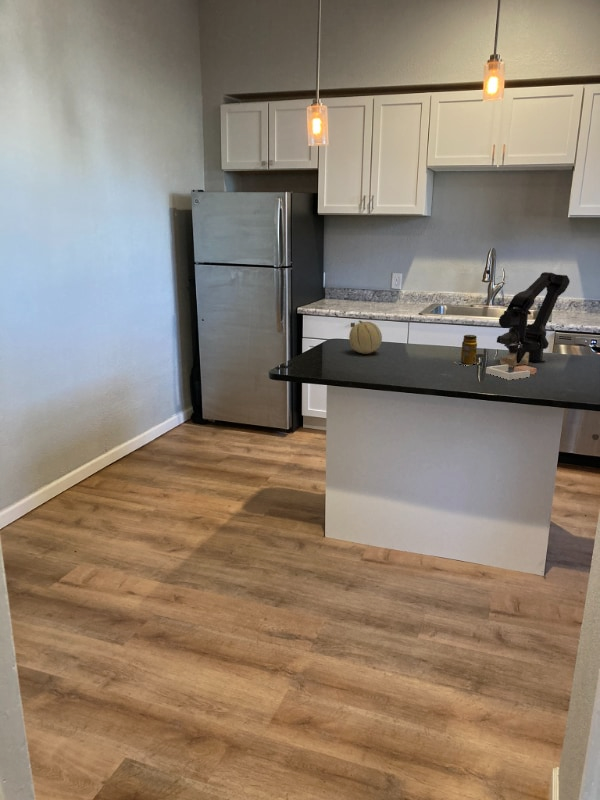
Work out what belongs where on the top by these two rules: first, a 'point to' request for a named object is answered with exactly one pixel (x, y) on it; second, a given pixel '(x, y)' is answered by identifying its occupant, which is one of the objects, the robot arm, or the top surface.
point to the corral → (501, 372)
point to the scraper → (514, 360)
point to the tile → (525, 369)
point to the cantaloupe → (365, 337)
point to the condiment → (468, 350)
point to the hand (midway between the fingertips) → (515, 362)
